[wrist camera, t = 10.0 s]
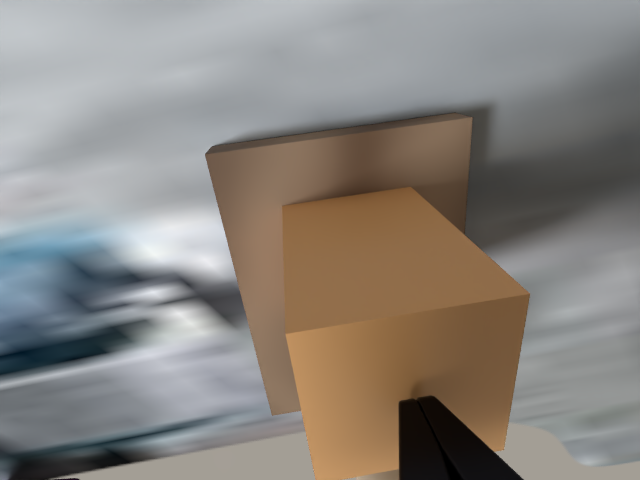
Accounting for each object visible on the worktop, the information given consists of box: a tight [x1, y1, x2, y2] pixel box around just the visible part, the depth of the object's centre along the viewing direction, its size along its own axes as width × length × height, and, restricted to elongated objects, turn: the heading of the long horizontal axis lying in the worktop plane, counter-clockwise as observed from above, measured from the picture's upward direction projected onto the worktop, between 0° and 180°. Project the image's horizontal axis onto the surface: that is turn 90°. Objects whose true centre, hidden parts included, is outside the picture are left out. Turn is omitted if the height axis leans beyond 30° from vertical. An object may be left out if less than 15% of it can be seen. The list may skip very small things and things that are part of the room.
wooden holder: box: [205, 113, 473, 480], centre depth 14 cm, size 10×14×8 cm
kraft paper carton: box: [282, 187, 530, 480], centre depth 12 cm, size 5×5×8 cm
